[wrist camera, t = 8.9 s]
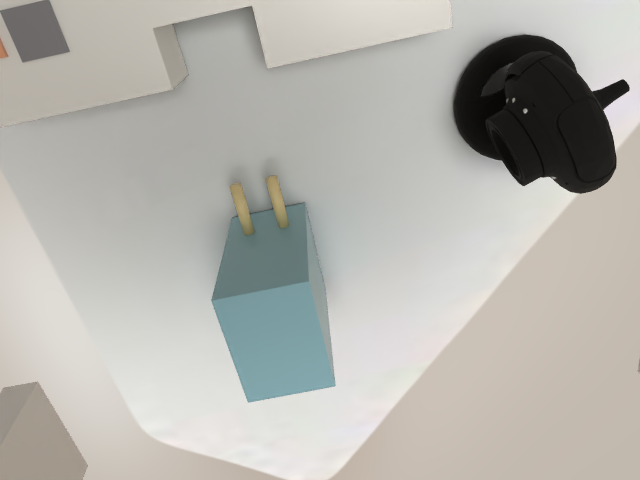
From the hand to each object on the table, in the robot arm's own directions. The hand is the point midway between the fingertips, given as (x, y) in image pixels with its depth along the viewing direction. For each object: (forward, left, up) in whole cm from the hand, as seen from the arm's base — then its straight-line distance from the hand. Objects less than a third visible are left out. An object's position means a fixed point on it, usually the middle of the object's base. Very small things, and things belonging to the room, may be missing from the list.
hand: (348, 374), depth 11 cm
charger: (+7, -4, -23) cm, 25 cm away
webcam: (+2, +12, -24) cm, 27 cm away
